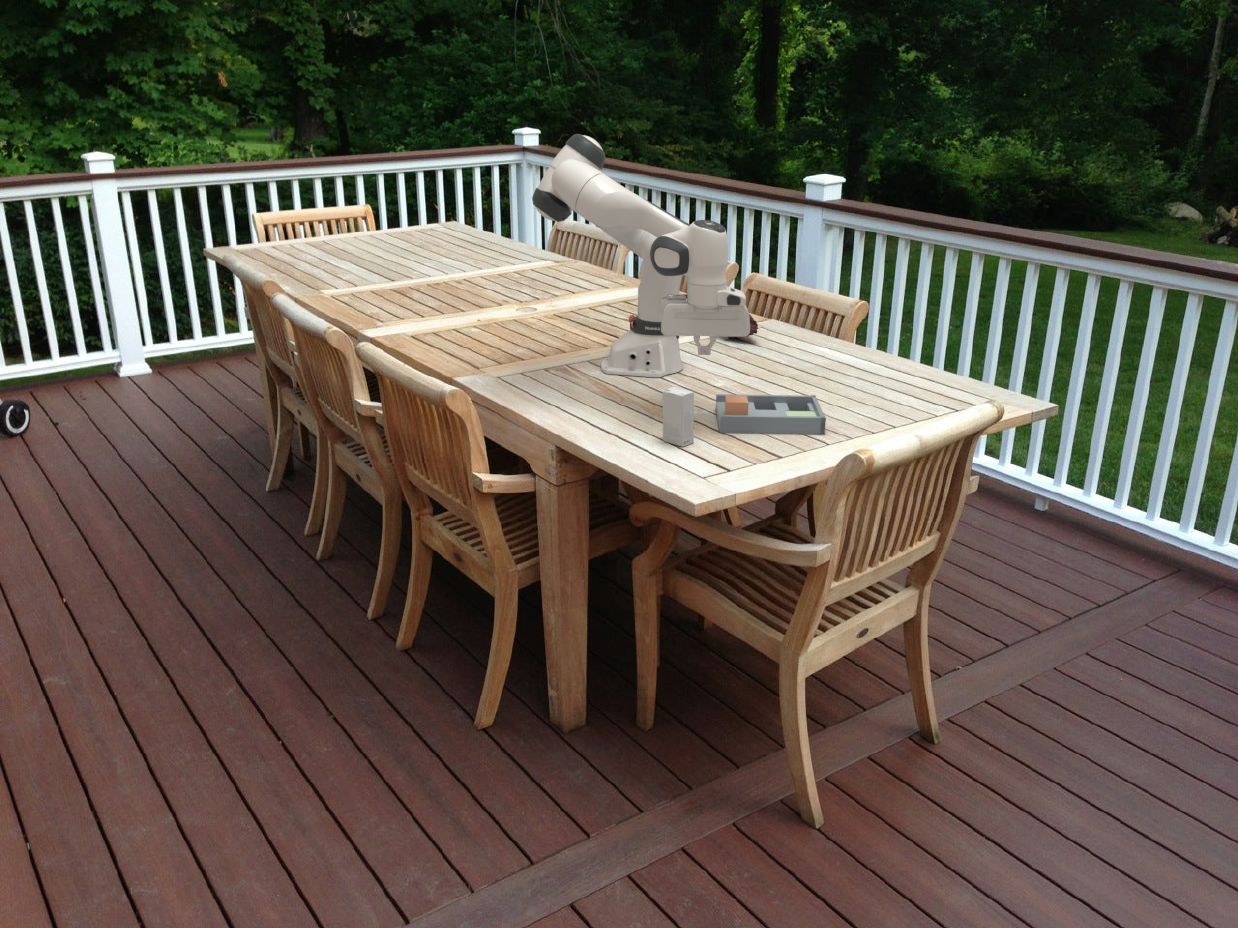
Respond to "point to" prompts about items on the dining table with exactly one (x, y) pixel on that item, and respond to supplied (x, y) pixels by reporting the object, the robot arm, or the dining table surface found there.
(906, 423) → the dining table surface
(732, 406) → the block
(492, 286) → the dining table surface
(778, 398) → the box
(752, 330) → the pine cone
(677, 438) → the skincare box
